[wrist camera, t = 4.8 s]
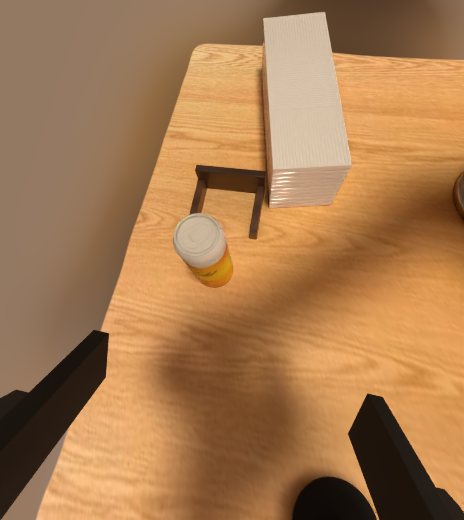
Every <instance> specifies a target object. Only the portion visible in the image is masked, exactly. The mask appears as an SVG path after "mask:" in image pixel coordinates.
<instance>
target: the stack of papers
mask: <svg viewBox="0 0 464 520" xmlns="http://www.w3.org/2000/svg"><path fill="white" fill-rule="evenodd" d="M262 58H263V59H262V85H263V103H264V121H265V139H266V157H267V175H268V194H269V208H280V207H301V206H322V205H331V204H332V202H333V200H334V198H335V196H336V194H337V192H338V191H339V189H340V187H341V185H342V183H343V181H344V179H345V177H346V175H347V173H348V172H349V169H350V168H351V166H352V162H351V157H350V151H349V145H348V140H347V134H346V129H345V123H344V117H343V112H342V106H341V100H340V95H339V89H338V84H337V78H336V72H335V67H334V61H333V55H332V50H331V44H330V39H329V33H328V27H327V22H326V16H325V12H320V13H311V14H301V15H292V16H283V17H273V18H264V19H263V56H262Z"/></svg>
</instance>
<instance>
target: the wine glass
mask: <svg viewBox="0 0 464 520" xmlns="http://www.w3.org/2000/svg"><path fill="white" fill-rule="evenodd" d="M292 520H377V519H376V516H375V514H374V511H373V509H372V508H371V506H370V504H369V503H368V501H367V500H366V498H365V497H364V496H363V495H362V493H361V492H360V491H359V490H358V489H356V488H355V487H354V486H353V485H351V484H350V483H348V482H346V481H344V480H342V479H338V478H334V477H324V478H319V479H316V480H314V481H312V482H310V483H309V484H308V485H307V486H306V487H305V488H304V489H303V490H302V491H301V493H300V494H299V496H298V498H297V500H296V503H295V506H294V510H293V518H292Z"/></svg>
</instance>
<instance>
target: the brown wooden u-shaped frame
mask: <svg viewBox="0 0 464 520" xmlns="http://www.w3.org/2000/svg"><path fill="white" fill-rule="evenodd" d="M195 171H196V174H197V177H198V182H197V186H196V190H195V194H194V198H193V202H192V206H191V210H190V214H189V215H191V214H195V213H201V211H202V207H203V203H204V198H205V194H206V190H207V188H212V189H222V190H231V191H241V192H250V193H256V197H255V203H254V209H253V215H252V221H251V226H250V232H249V233H250V239H257V234H258V228H259V222H260V215H261V209H262V203H263V197H264V190H265V176H266V171H256V170H245V169H235V168H224V167H213V166H203V165H197V166H196V169H195Z"/></svg>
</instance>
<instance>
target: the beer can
mask: <svg viewBox="0 0 464 520" xmlns="http://www.w3.org/2000/svg"><path fill="white" fill-rule="evenodd" d="M173 244H174V248H175V250H176V252H177V253H178V255H179V256H180V257H181V258H182V259H183V261H184V262H185V263H186V264H187V265H188V266H189V268H190V269H191V270H192V271H193V272H194V274H195V275H196V276H197V277H198V278H199V280H200V281H201V282H202V283H203V284H205V285H207V286H210V287H219V286H222V285H224V284H225V283H227V282H228V281H229V280H230V278H231V276H232V274H233V263H232V260H231V256H230V253H229V249H228V245H227V242H226V238H225V235H224V231H223V228H222V226H221V225H220V223H219V222H218V221H217V220H216V219H214V218H212V217H210V216H208V215H206V214H202V213H195V214H191V215H188V216H186V217H184V218H183V219H182V220H181V221H180V222H179V223H178V224H177V226H176V228H175V231H174V237H173Z"/></svg>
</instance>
